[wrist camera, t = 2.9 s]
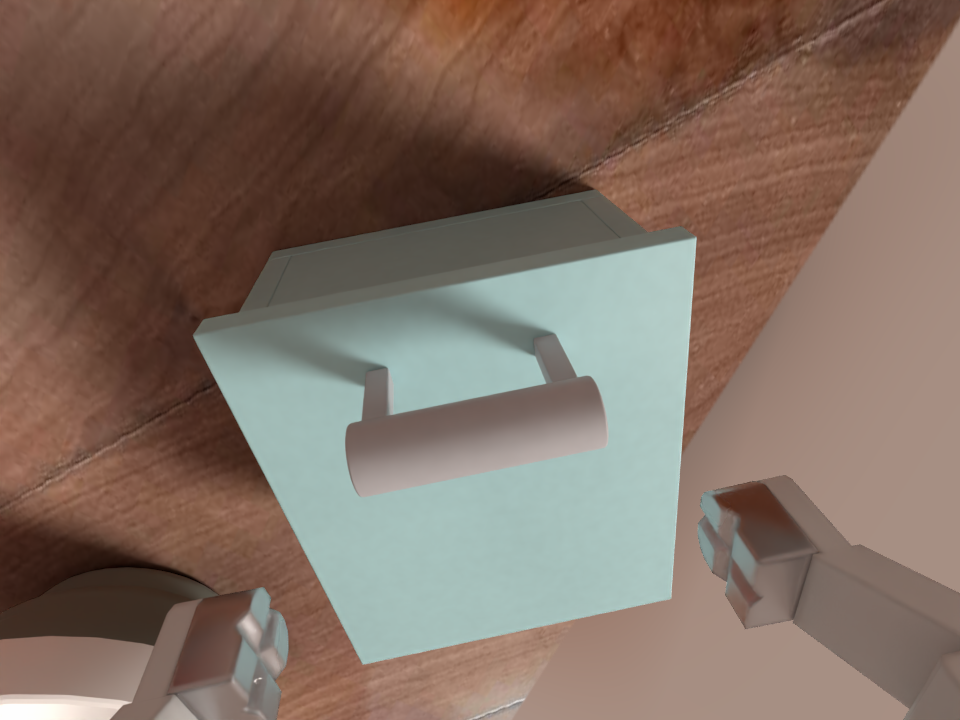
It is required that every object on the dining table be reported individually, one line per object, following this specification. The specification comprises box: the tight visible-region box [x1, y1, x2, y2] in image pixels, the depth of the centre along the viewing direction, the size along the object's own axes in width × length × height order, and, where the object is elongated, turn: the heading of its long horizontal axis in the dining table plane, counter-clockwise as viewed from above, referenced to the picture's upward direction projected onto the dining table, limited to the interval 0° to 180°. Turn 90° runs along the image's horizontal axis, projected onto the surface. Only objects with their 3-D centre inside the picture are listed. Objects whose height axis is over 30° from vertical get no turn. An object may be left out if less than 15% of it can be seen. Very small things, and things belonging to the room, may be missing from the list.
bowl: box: [0, 567, 219, 720], centre depth 30 cm, size 20×20×10 cm
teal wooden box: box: [239, 189, 648, 312], centre depth 24 cm, size 16×14×8 cm
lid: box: [193, 226, 696, 664], centre depth 18 cm, size 17×14×5 cm
